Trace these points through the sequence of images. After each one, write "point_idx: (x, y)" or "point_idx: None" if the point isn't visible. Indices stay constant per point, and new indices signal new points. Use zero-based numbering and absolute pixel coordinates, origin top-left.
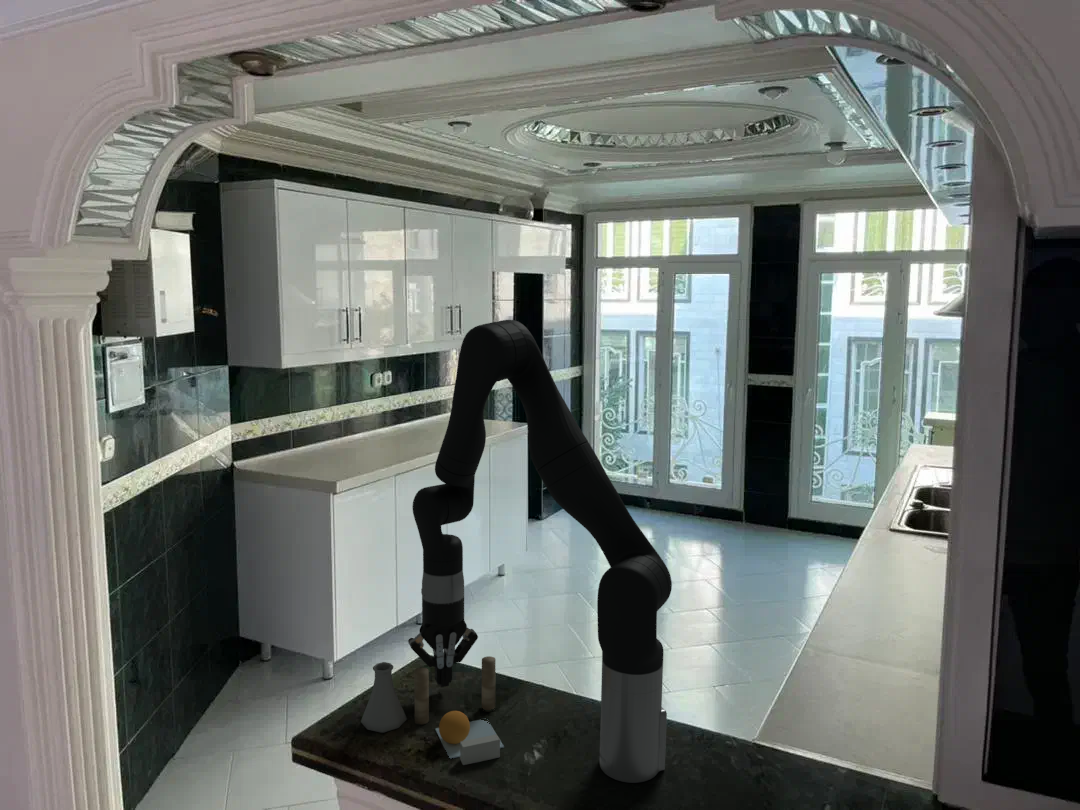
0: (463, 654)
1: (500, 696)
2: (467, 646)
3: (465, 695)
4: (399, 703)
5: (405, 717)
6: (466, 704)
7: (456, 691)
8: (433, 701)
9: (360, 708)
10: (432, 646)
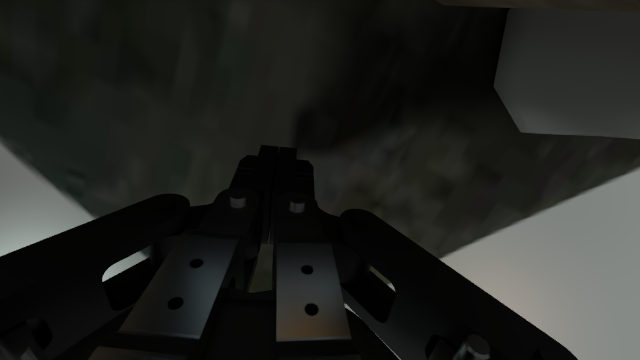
0: (116, 223)
1: (33, 4)
2: (37, 266)
3: (202, 93)
4: (599, 24)
5: (521, 8)
6: (216, 13)
7: (230, 138)
8: (340, 107)
9: (570, 174)
10: (367, 330)
